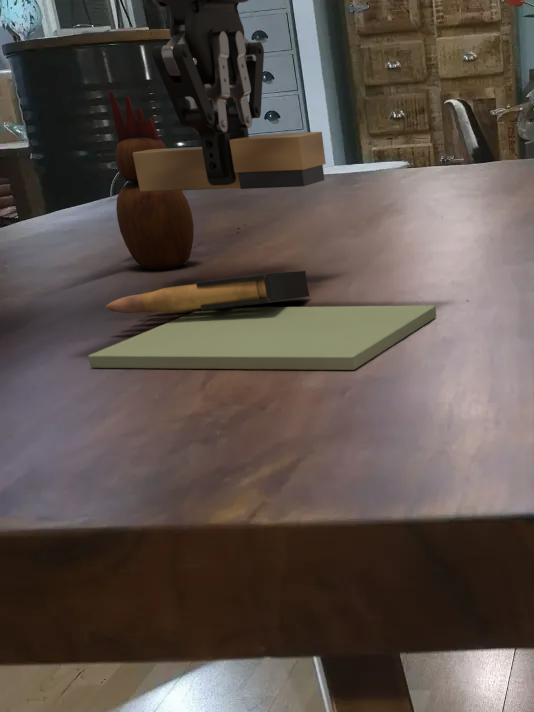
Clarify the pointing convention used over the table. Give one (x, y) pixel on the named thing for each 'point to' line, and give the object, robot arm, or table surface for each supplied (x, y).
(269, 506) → the table surface
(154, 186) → the brush
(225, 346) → the felt mat
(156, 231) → the wooden figurine
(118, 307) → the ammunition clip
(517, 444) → the table surface
